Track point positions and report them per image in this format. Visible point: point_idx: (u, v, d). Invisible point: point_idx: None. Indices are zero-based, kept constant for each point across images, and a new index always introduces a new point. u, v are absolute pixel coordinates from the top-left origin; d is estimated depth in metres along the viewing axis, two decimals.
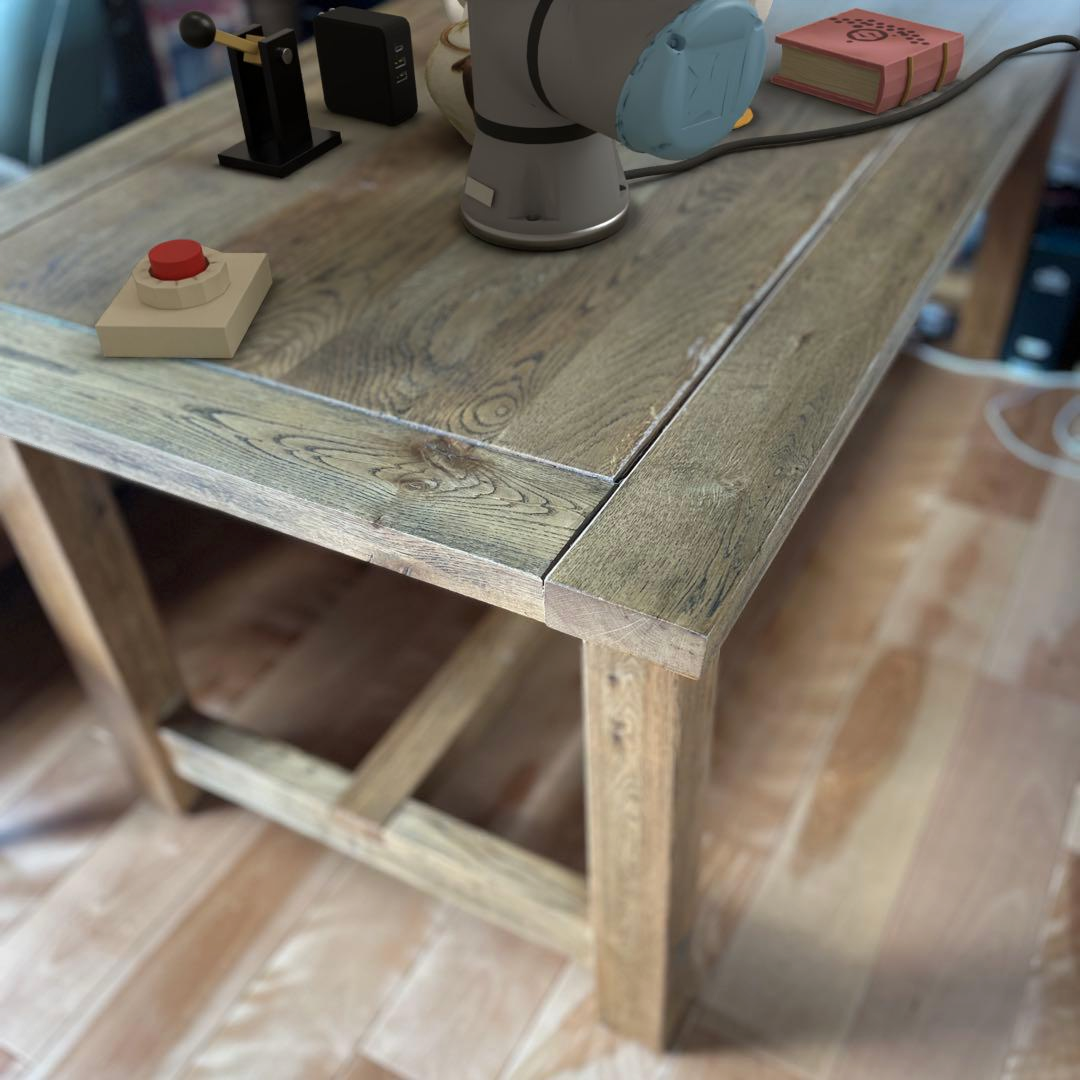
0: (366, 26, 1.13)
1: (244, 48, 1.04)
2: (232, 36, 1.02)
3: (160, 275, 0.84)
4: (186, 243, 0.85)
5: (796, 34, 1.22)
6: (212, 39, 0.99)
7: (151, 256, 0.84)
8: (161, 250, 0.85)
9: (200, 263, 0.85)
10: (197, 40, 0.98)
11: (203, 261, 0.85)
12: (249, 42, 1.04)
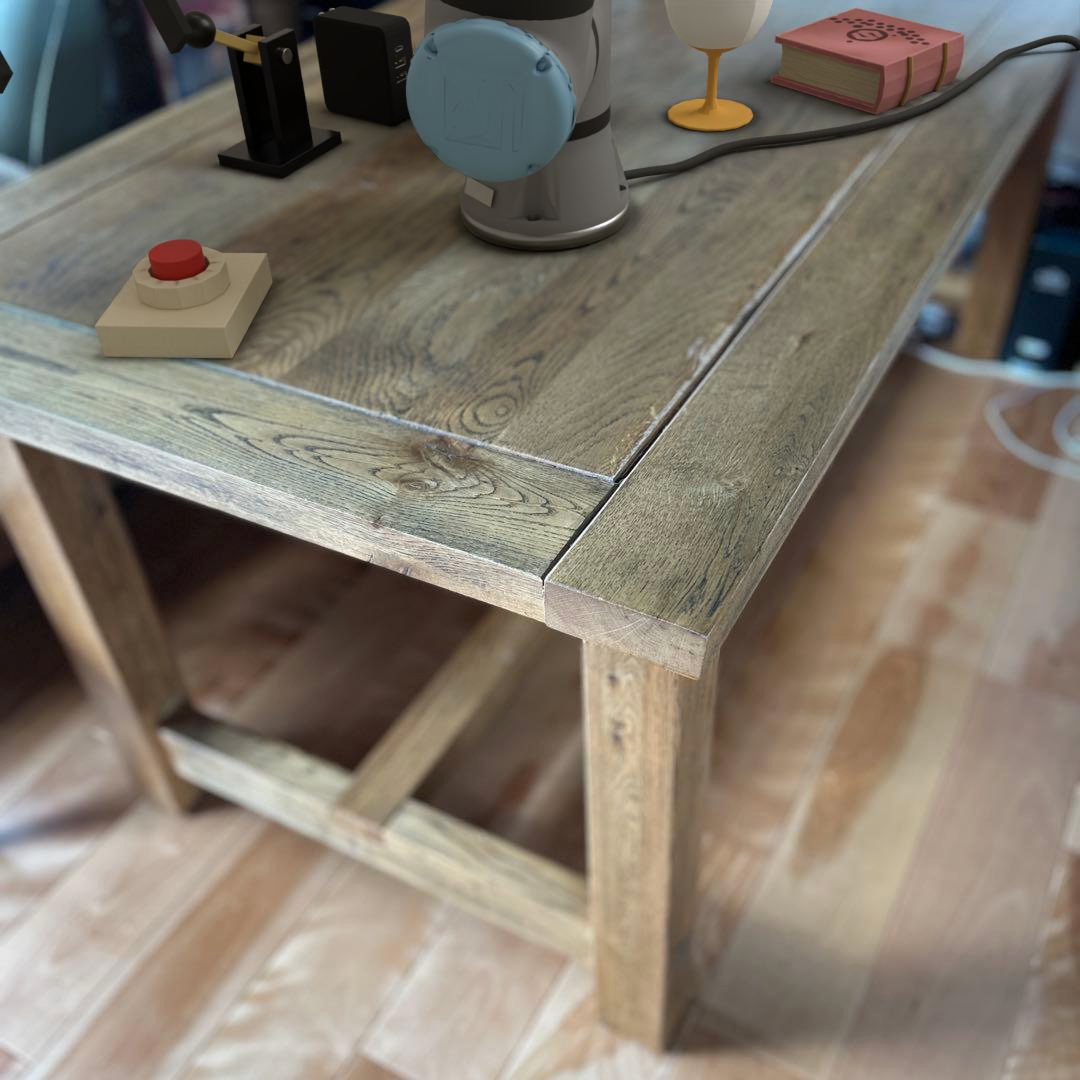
0: (366, 25, 1.13)
1: (244, 48, 1.04)
2: (232, 36, 1.02)
3: (160, 275, 0.84)
4: (186, 243, 0.85)
5: (796, 34, 1.22)
6: (212, 39, 0.99)
7: (151, 256, 0.84)
8: (161, 250, 0.85)
9: (200, 263, 0.85)
10: (197, 40, 0.98)
11: (203, 261, 0.85)
12: (249, 42, 1.04)
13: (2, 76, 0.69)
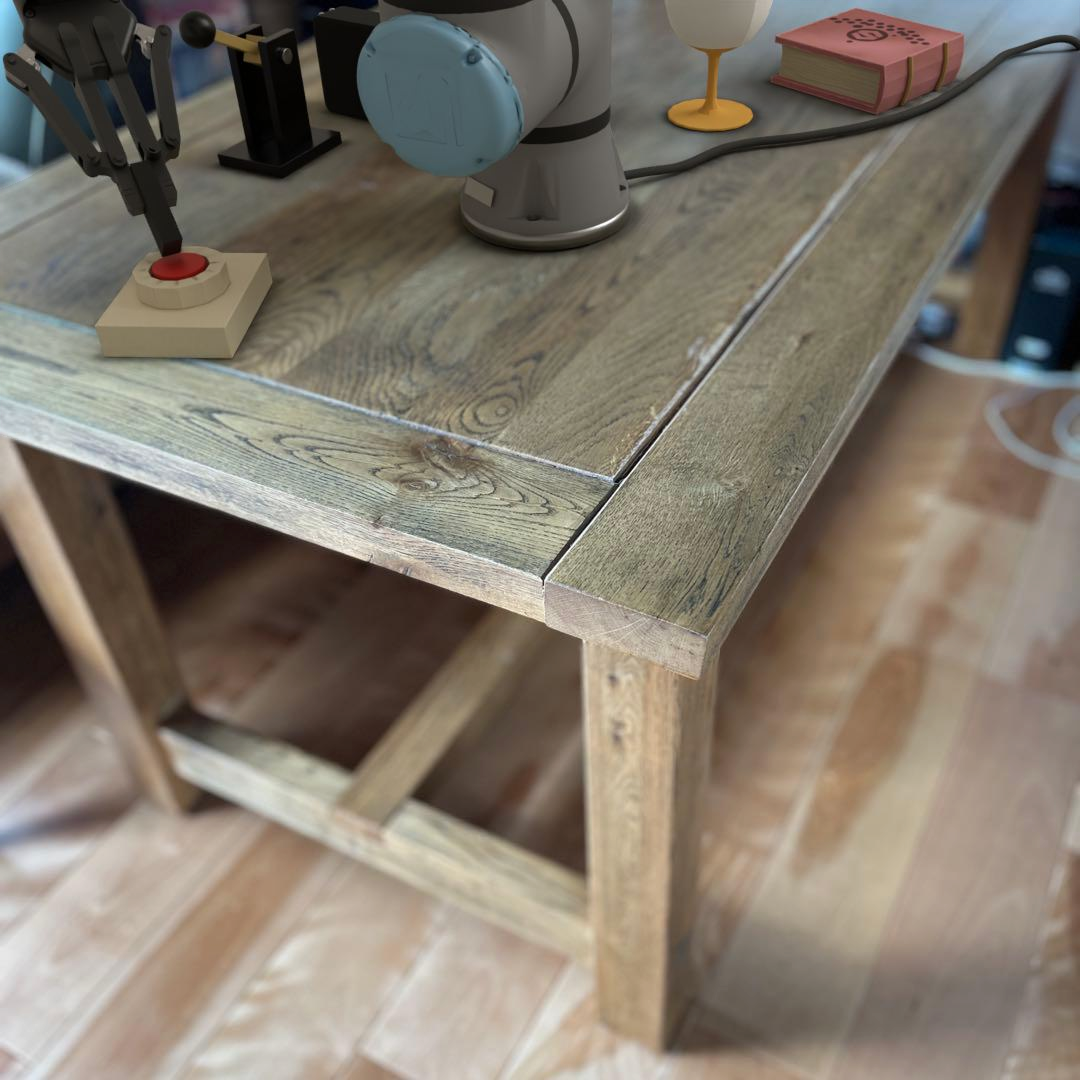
0: (366, 25, 1.13)
1: (244, 48, 1.04)
2: (232, 36, 1.02)
3: None
4: (189, 256, 0.86)
5: (796, 34, 1.22)
6: (212, 39, 0.99)
7: (155, 270, 0.85)
8: (165, 264, 0.85)
9: None
10: (197, 40, 0.98)
11: None
12: (249, 42, 1.04)
13: (163, 243, 0.83)
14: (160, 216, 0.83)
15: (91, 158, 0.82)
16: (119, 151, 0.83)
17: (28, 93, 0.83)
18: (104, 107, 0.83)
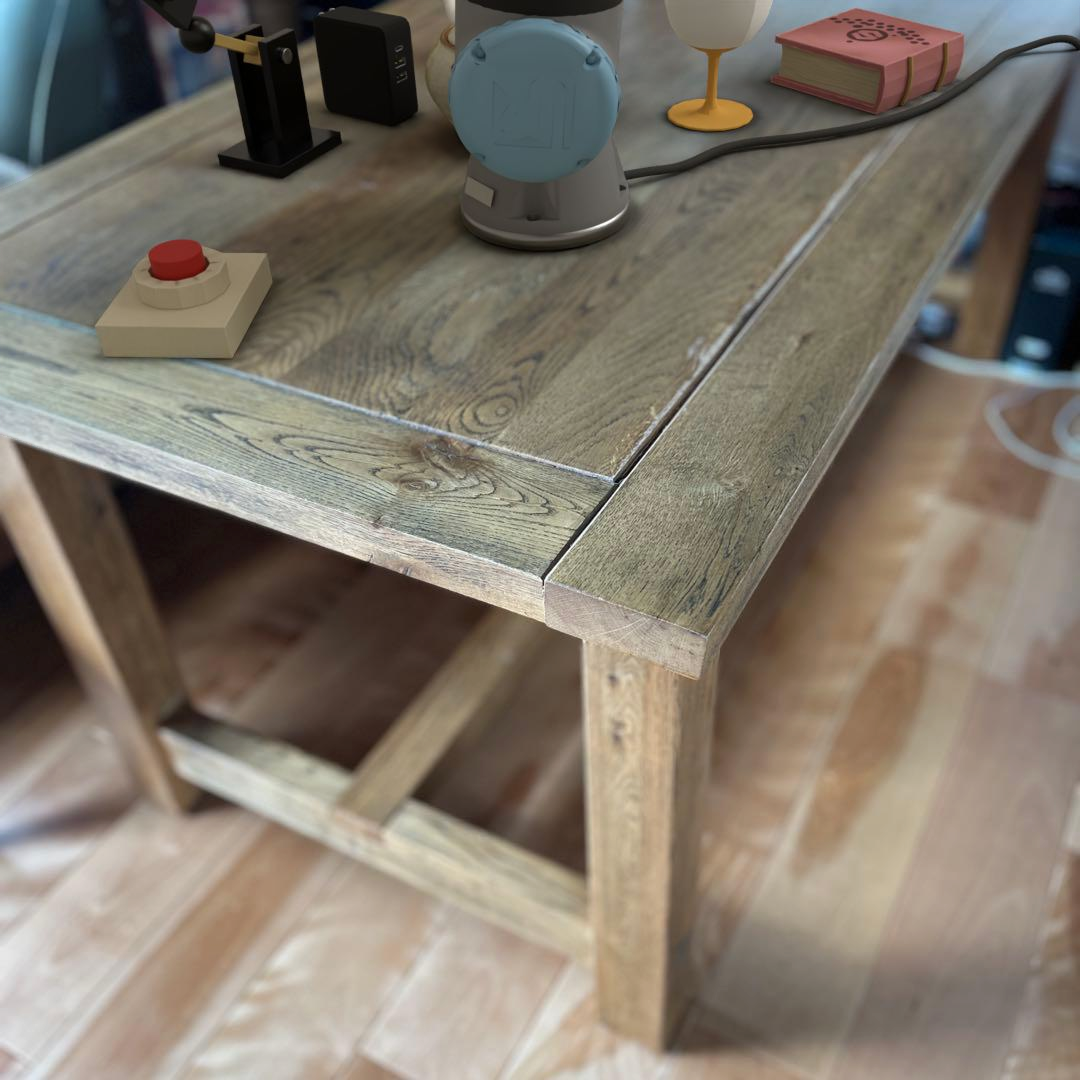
0: (366, 25, 1.13)
1: (244, 50, 1.04)
2: (232, 39, 1.02)
3: (160, 275, 0.84)
4: (186, 243, 0.85)
5: (796, 34, 1.22)
6: (212, 44, 0.99)
7: (151, 256, 0.84)
8: (161, 250, 0.85)
9: (200, 263, 0.85)
10: (196, 45, 0.98)
11: (203, 261, 0.85)
12: (249, 43, 1.04)
13: None
14: None
15: None
16: None
17: None
18: None
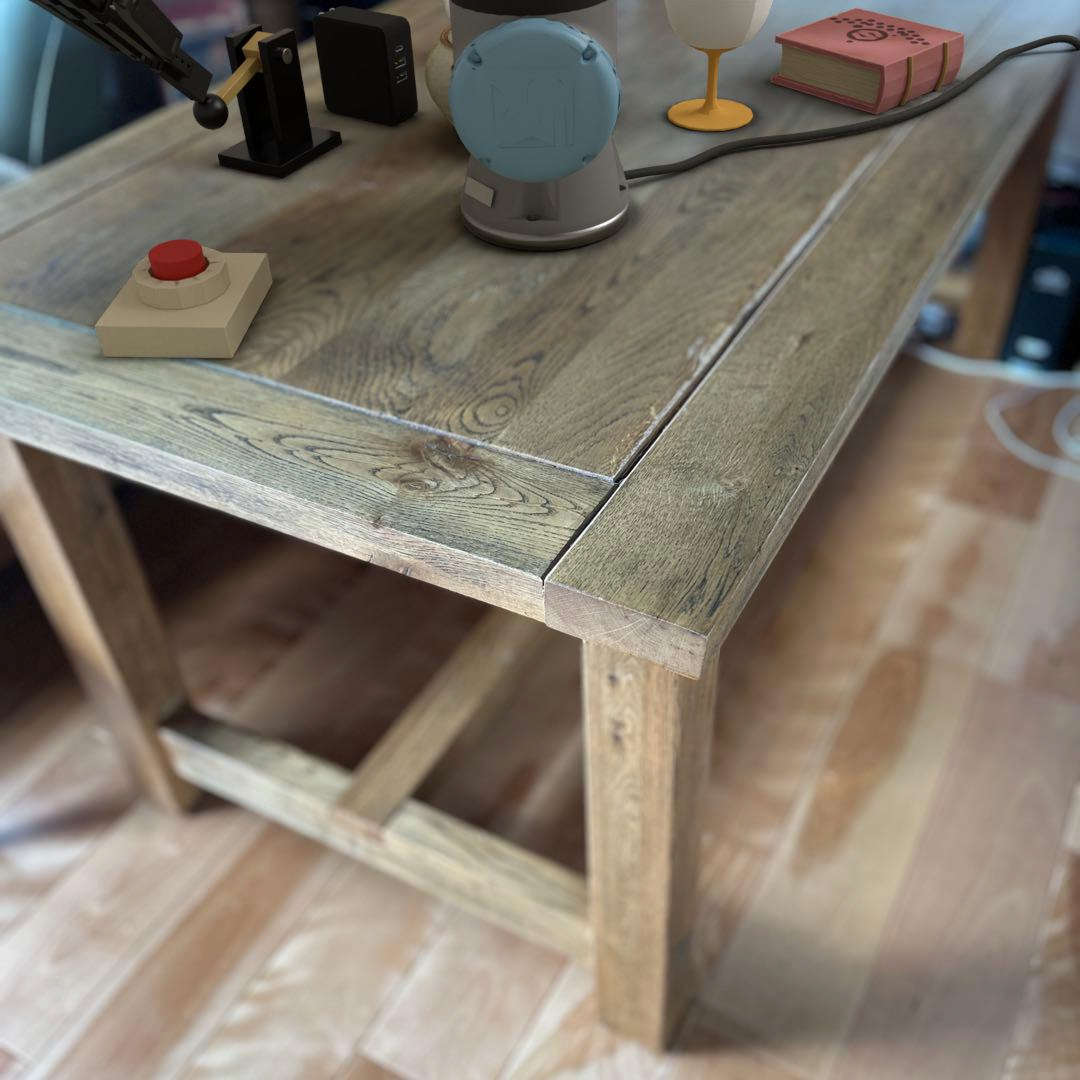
0: (366, 25, 1.13)
1: (250, 77, 1.06)
2: (237, 82, 1.04)
3: (160, 275, 0.84)
4: (186, 243, 0.85)
5: (796, 34, 1.22)
6: (227, 115, 1.03)
7: (151, 256, 0.84)
8: (161, 250, 0.85)
9: (200, 263, 0.85)
10: (217, 127, 1.03)
11: (203, 261, 0.85)
12: (250, 67, 1.05)
13: (212, 75, 1.01)
14: None
15: None
16: None
17: (135, 12, 0.86)
18: None
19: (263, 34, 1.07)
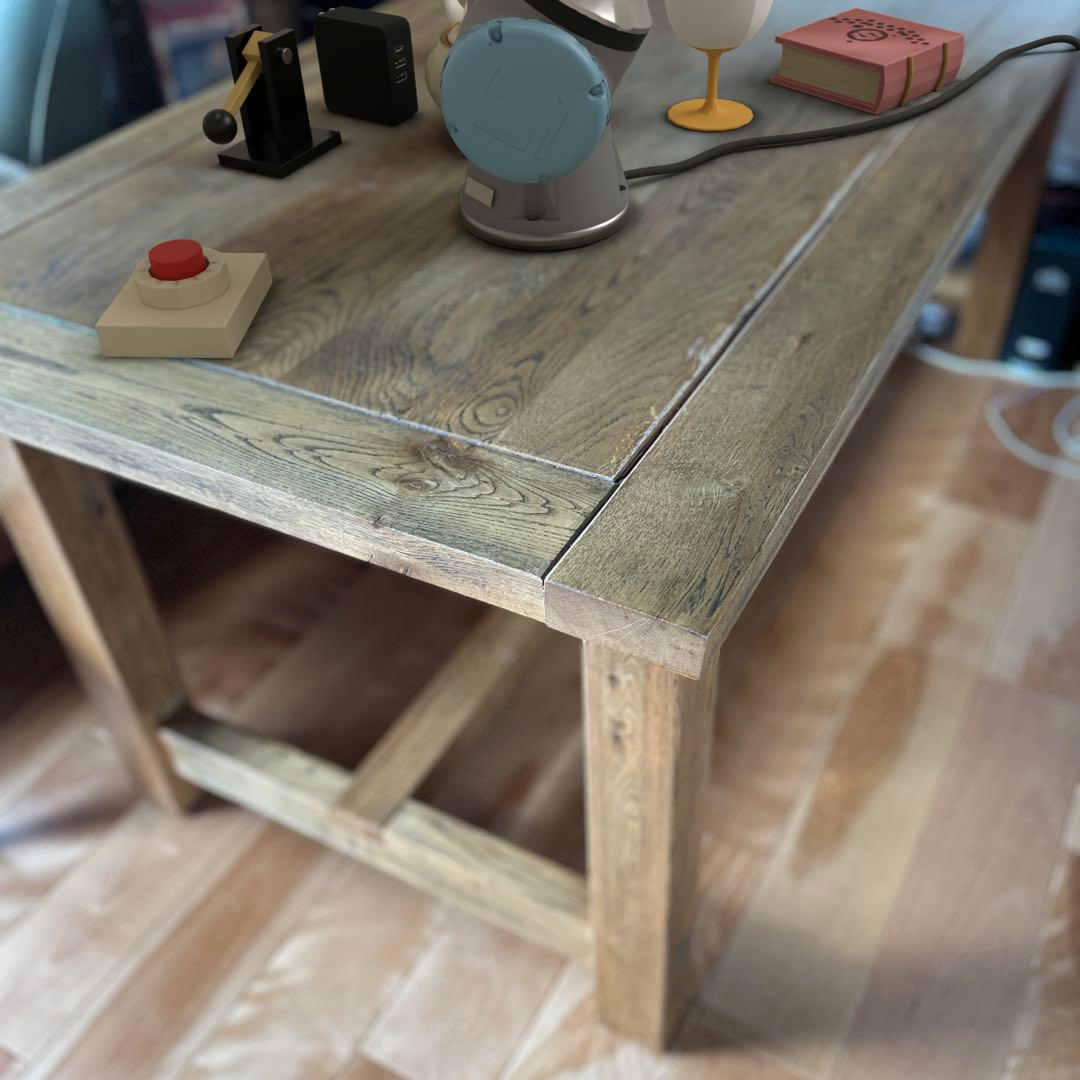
0: (366, 25, 1.13)
1: (253, 82, 1.06)
2: (241, 91, 1.05)
3: (160, 275, 0.84)
4: (186, 243, 0.85)
5: (796, 34, 1.22)
6: (236, 129, 1.05)
7: (151, 256, 0.84)
8: (161, 250, 0.85)
9: (200, 263, 0.85)
10: (228, 142, 1.05)
11: (203, 261, 0.85)
12: (252, 72, 1.06)
13: None
14: None
15: None
16: None
17: None
18: None
19: (261, 34, 1.06)
